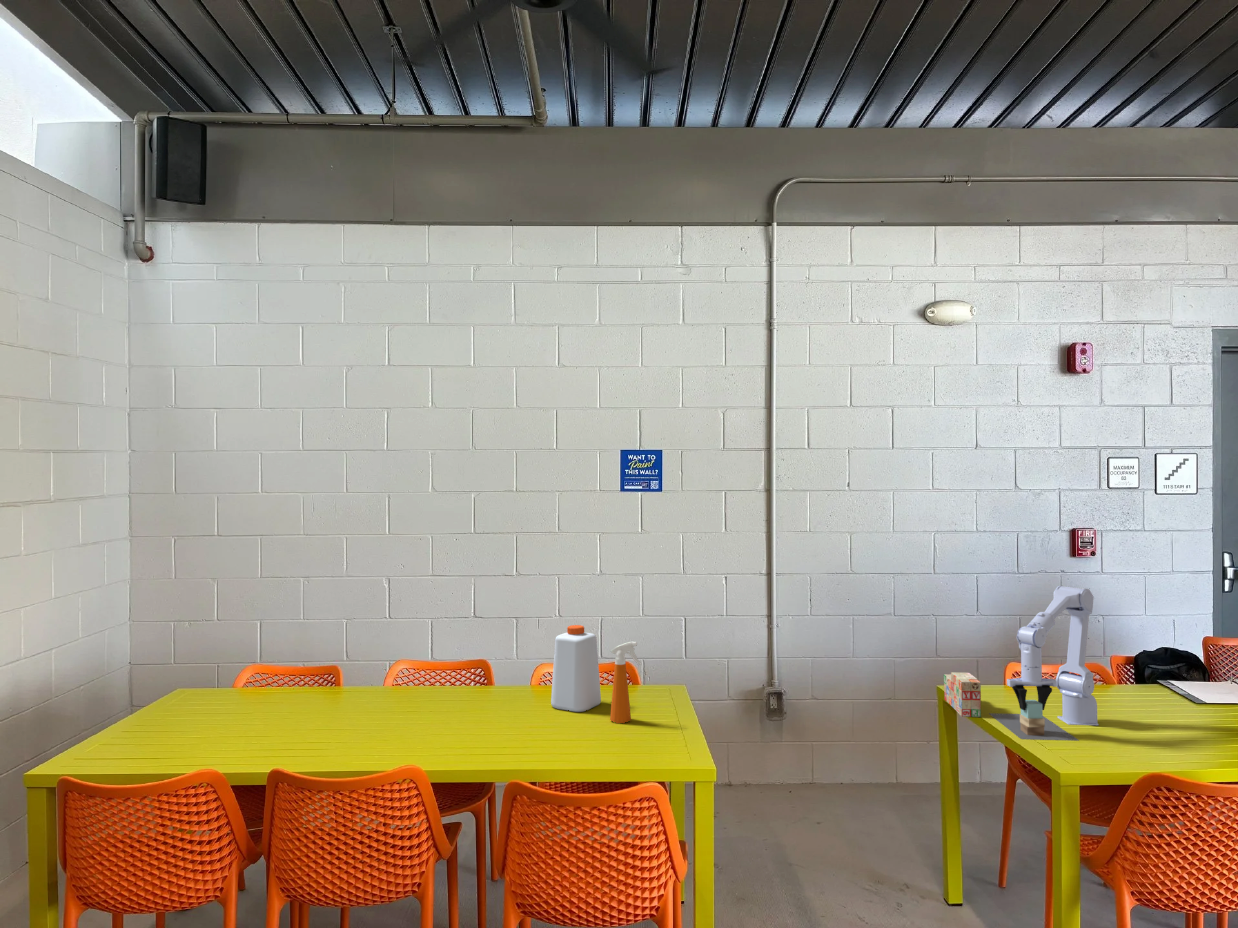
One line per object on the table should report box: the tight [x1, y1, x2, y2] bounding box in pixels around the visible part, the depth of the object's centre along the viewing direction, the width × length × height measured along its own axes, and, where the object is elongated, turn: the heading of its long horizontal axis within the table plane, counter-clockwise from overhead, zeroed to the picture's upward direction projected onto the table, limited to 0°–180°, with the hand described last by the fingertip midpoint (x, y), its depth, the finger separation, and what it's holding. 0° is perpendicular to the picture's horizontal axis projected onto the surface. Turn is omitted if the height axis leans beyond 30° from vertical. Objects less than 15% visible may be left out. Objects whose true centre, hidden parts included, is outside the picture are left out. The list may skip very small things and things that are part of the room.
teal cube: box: [1020, 699, 1044, 719], centre depth 245 cm, size 4×4×4 cm
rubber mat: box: [988, 712, 1080, 742], centre depth 251 cm, size 17×26×1 cm, turn 175°
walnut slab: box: [1021, 723, 1044, 735], centre depth 245 cm, size 5×5×2 cm
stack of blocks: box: [943, 671, 982, 718], centre depth 272 cm, size 21×6×12 cm, turn 172°
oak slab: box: [1019, 713, 1045, 727], centre depth 245 cm, size 5×5×2 cm
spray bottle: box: [609, 641, 642, 724], centre depth 260 cm, size 7×11×26 cm, turn 78°
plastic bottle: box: [550, 624, 602, 713], centre depth 278 cm, size 15×15×28 cm
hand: (1031, 709), depth 245 cm, fingers open, 5 cm apart
